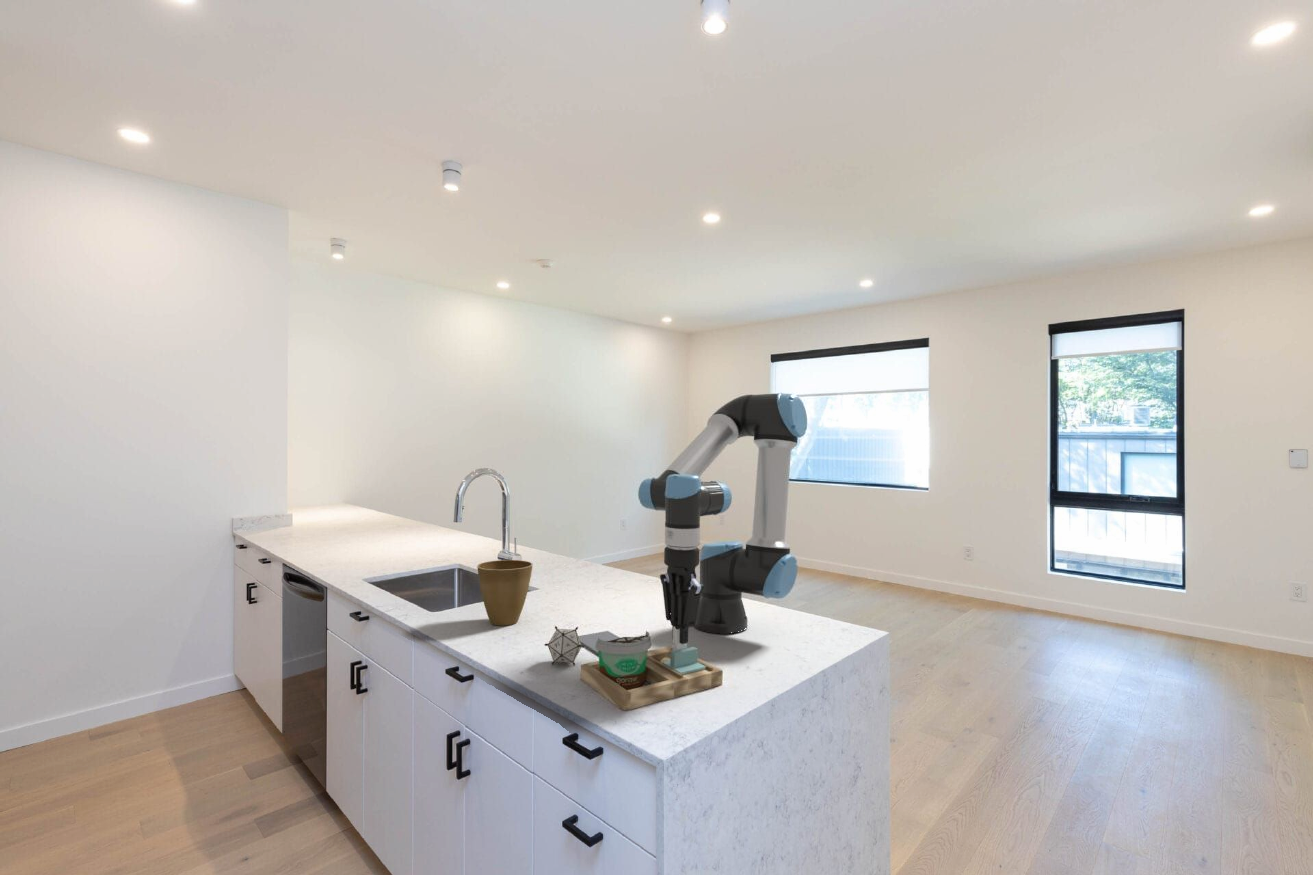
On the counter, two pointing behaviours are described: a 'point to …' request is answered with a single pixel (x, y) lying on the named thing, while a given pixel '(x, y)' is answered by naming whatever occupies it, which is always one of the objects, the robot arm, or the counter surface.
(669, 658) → the ball
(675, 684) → the wooden compartment tray
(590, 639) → the mat
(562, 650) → the game die
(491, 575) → the plant pot
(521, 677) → the counter surface
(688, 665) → the cover
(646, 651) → the food container
